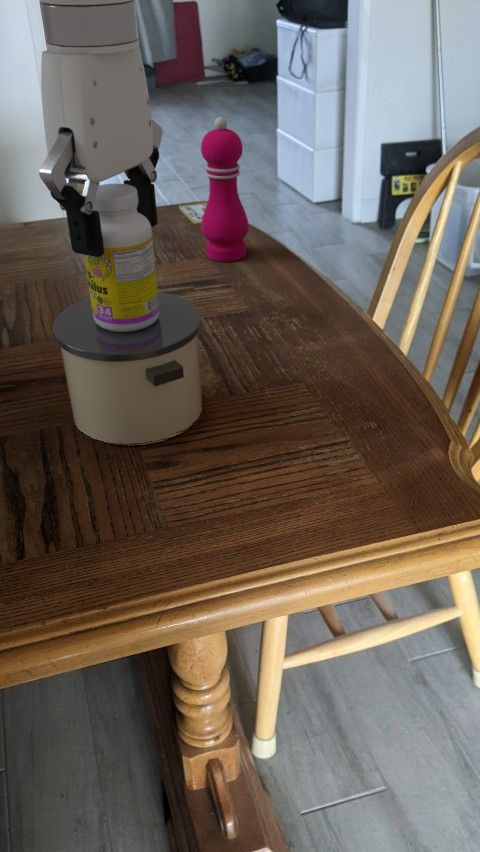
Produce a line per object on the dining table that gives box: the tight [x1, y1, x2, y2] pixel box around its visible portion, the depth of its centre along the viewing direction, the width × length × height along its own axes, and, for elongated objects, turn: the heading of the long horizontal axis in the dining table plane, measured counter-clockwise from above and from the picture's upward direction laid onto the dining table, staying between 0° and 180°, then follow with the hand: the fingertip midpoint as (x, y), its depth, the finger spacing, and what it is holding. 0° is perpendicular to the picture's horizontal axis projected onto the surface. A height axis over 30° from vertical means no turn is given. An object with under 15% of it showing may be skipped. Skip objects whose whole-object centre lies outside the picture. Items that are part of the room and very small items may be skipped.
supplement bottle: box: [83, 183, 159, 332], centre depth 75 cm, size 7×7×13 cm
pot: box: [52, 291, 203, 444], centre depth 82 cm, size 15×17×11 cm
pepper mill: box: [200, 116, 249, 263], centre depth 116 cm, size 7×7×20 cm
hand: (116, 237), depth 74 cm, fingers open, 8 cm apart
